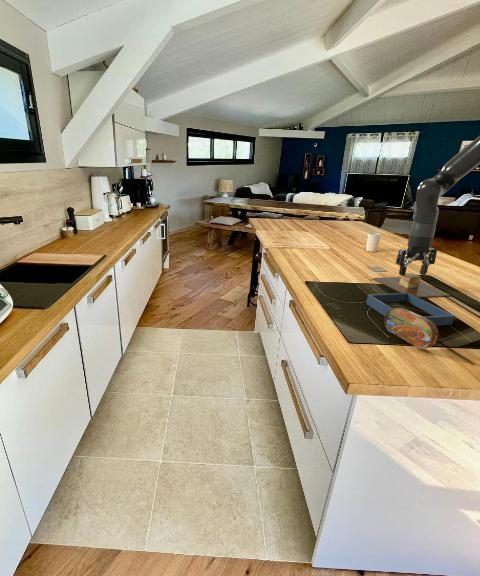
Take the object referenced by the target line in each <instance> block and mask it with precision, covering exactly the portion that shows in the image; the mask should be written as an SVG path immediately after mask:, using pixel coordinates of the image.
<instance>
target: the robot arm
mask: <svg viewBox="0 0 480 576" xmlns="http://www.w3.org/2000/svg"><path fill="white" fill-rule="evenodd" d="M479 165H480V135H478V136H477V137H476V138H475V139H474V140H473V141H471V142H470V143H469V144H467V145H466V146H465V147H463V148H462V149H461V150H460V151H459V152H458V153H456V154H455V155H454V156H453V157H452V158H451V159H449V160H448V161H447V162H446V163H445V164H444V165H443V167H442V169H441V170H440V171H439V172H438V173H437V174H436V175H435V176H433V177H432V178H426V179H424V180H423V181H422V182H421V183H420V184H419V185H418V187H417V191H416V195H415V212H414V216H413V220H412V224H411V226H410V230H409V234H408V240H407V249H401V248H400V249H399V250H398V252H397V257H396V260H395V264H396V265H397V266H399V271H398V274H399V275H400V277H401V276H405V273H407V269H408V266H409V265H410V264H412V263H413V262H416V261H419V262H421V266H420V270H419V275H422V276H426V274H427V273H428V269H429V267H430V266H431V265H435V264H436V259H437V253H438V249H436V248H433V247H432V245H433V240H434V236H435V233H436V229H437V227H436V226H437V221H438V217H439V213H440V212H439V211H440V209H439V207H438V204H439V198H440V197H441V196H443V195H445V194H446V193H447V192H448V191H449V190H451V188H453V186H455V185H456V184H457V183H458V182H459V180H460V179H462V178H463V177H465V176H466V175H467V174H469V173H470V172H471V171H472V170H474V169H475V168H476V167H478V166H479Z"/></svg>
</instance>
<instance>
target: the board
mask: <svg viewBox="0 0 480 576" xmlns="http://www.w3.org/2000/svg"><path fill="white" fill-rule="evenodd" d="M400 279H401V276H389V277H388V276H387V277H386V276H385V277H373V278H372V280H373V281H375V282H377V283H379V284H381V285H383V286H385V287H387V288H388V289H391V290H392V291H395V293H410V294H412V295H414V296H416V297H418V298H420V299H426V298H427V299H428V298H446V297H447V298H448V297H451V296H452V295H451V294H449V293H447V292H445V291H442V290H440V289H438V288H435V287H434V286H430V285H429V284H426V283H424V282H422V281H420V283H419V287H418V288H406V287H404V286H402V285H400V284H399V283H400Z"/></svg>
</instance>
